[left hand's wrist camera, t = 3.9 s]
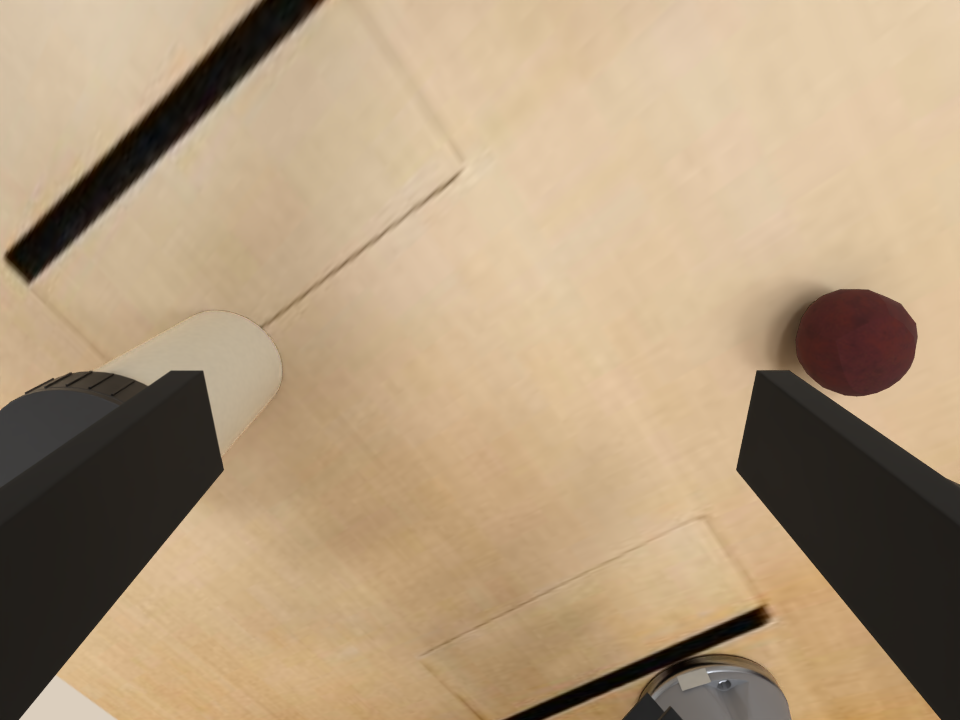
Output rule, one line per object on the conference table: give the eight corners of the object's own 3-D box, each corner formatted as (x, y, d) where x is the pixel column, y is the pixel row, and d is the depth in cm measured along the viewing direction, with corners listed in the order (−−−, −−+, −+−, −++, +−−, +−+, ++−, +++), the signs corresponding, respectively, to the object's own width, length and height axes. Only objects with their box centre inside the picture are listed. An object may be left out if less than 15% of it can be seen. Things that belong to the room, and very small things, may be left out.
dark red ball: (797, 387, 43) (855, 429, 36) (760, 311, 40) (814, 341, 34) (886, 340, 41) (963, 375, 35) (852, 258, 39) (928, 279, 32)
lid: (64, 332, 27) (25, 348, 25) (241, 440, 29) (220, 464, 27) (-7, 466, 30) (-47, 492, 27) (159, 555, 32) (135, 585, 30)
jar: (201, 287, 40) (40, 361, 25) (303, 355, 42) (209, 461, 27) (149, 373, 43) (-24, 485, 28) (248, 433, 45) (134, 568, 30)
